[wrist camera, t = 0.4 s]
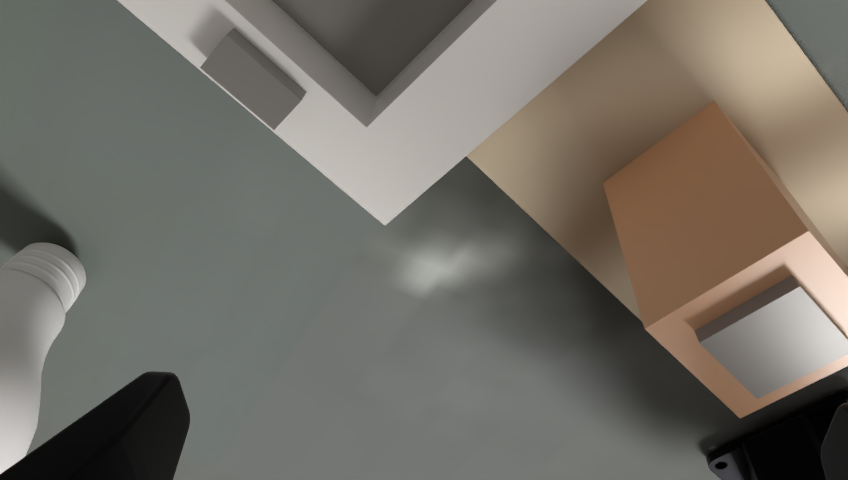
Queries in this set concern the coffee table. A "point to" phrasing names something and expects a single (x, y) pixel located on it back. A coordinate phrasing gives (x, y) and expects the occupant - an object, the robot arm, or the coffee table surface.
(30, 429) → the lightbulb
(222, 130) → the coffee table surface
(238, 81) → the socket block
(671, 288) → the plug
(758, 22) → the tray slab
